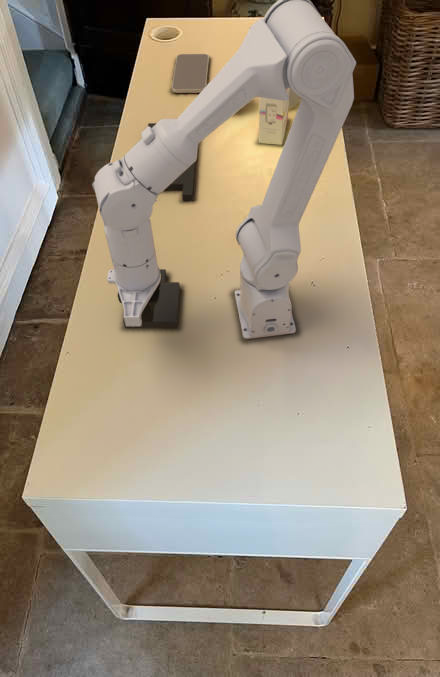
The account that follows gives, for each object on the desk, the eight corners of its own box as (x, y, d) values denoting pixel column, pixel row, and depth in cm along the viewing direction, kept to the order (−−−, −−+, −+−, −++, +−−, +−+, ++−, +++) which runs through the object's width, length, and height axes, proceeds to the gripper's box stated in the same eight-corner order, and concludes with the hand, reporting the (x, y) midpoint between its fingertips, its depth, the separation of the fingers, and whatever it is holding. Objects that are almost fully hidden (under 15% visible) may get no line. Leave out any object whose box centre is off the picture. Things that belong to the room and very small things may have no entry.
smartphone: (209, 53, 138) (205, 89, 129) (209, 57, 139) (205, 93, 130) (176, 54, 138) (171, 89, 129) (177, 57, 139) (171, 93, 130)
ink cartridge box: (264, 118, 124) (266, 48, 112) (288, 120, 123) (293, 50, 111) (257, 143, 119) (259, 72, 107) (282, 146, 118) (286, 74, 106)
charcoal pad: (176, 327, 92) (176, 321, 91) (124, 327, 92) (123, 321, 91) (181, 275, 98) (180, 269, 97) (132, 275, 99) (131, 269, 97)
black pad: (192, 201, 109) (192, 194, 108) (137, 201, 110) (136, 195, 108) (198, 129, 122) (197, 122, 121) (149, 129, 123) (148, 123, 121)
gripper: (109, 212, 81) (124, 280, 92) (93, 294, 73) (112, 358, 83) (161, 212, 81) (170, 280, 92) (151, 294, 72) (162, 359, 83)
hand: (146, 318), depth 88 cm, fingers closed
